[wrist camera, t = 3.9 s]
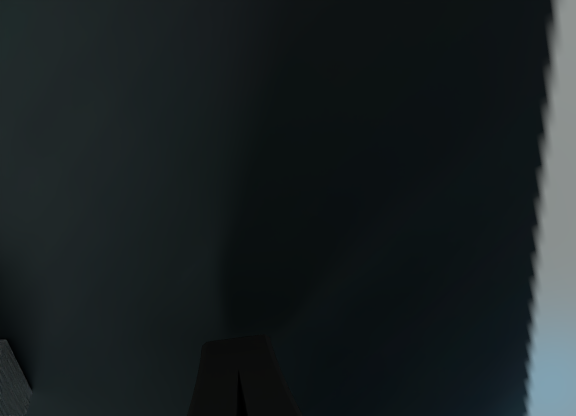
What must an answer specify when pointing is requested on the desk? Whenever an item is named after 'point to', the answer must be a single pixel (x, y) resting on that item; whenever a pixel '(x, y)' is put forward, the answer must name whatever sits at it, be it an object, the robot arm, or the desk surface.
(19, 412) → the bar
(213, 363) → the robot arm
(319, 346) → the desk surface
